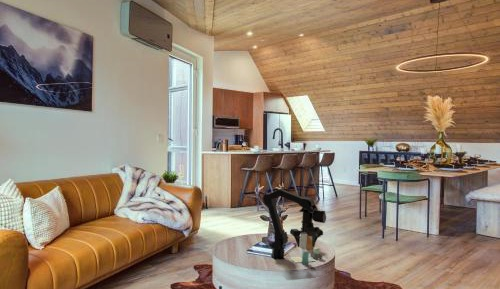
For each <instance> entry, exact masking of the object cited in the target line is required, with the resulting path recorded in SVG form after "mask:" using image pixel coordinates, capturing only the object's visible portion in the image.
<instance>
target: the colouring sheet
mask: <svg viewBox="0 0 500 289" xmlns="http://www.w3.org/2000/svg"><path fill="white" fill-rule="evenodd" d="M289 259H290V260H291V261H292V262H293V263H295V264H298V263H301V264H302V256H294V257H290V256H289ZM312 261H315V262H316V259H314V258H312V257H311V256H309V258H308V263H313V262H312Z"/></svg>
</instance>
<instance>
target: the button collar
mask: <svg viewBox="0 0 500 289" xmlns="http://www.w3.org/2000/svg"><path fill="white" fill-rule="evenodd" d="M313 253H314V251H313V252H312V251H311V252H310V257H311V258H312V259H313V260H319V259H318V258H322V259H323V254H321V252H319V255H314V254H313Z"/></svg>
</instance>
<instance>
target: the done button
mask: <svg viewBox="0 0 500 289" xmlns="http://www.w3.org/2000/svg"><path fill="white" fill-rule="evenodd" d="M320 249H321V248H320V247H318V246H317V247H316V246H315V247H314V249H313V252H314V253H313V254H314V255H319V253H321V252H320Z"/></svg>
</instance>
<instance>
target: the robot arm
mask: <svg viewBox="0 0 500 289" xmlns="http://www.w3.org/2000/svg"><path fill="white" fill-rule="evenodd" d="M280 197H281V198H284V199H285V200H289V201H291V202H294V203H295V204H297V205H299V206H300V207H301V209H299V212H300V213H302V219H301V222H300V223H301V227H300V230H299V229H297V228H291V229H290V230H289V234H290V235H291V236H293V238H294V240H295V243H296V246H297V248H300V238H301V234H308V236H312V246H313V247H314V245H315V246H316V242H317V240H318V238H320V237H322V236H323V235H324V231H323V229H320V227H319V226H314V222H315V223H321V224H325V223H326V220H327V216H326V215H327V214H326V210H319V208H318V207H317V206H316V205H317V204H315V200H314V199H313V198H312V197H306V196H300V195H298V194H295V193H293V192H290V191H287V190H285V189H284V188H278V189H277V190H275V191H273V192H270V193H266V194H264V195H263V197H262V201H263V203H264V205H265V207H266V208H267V209H268V211H269V212H268V213H269V216H270V220H271V223H272V227H273V231H274V236H273V237H274V238H273V240H274V241H273V242H272V243H271V244H270V247H271V249H272V250H271V255H270V257H271V258H272V259H273V260H282V259H284V260H285V246H286V244H287V243H288V242H289V236H288V232H287V231H284V230H283V227H282V224H281V221H280V217H279V213H278V208H277V199H278V198H280ZM313 221H314V222H313ZM301 230H302V231H301Z"/></svg>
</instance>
